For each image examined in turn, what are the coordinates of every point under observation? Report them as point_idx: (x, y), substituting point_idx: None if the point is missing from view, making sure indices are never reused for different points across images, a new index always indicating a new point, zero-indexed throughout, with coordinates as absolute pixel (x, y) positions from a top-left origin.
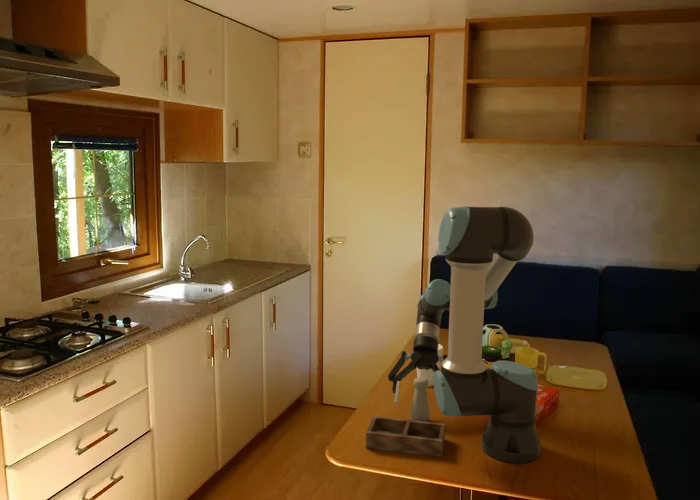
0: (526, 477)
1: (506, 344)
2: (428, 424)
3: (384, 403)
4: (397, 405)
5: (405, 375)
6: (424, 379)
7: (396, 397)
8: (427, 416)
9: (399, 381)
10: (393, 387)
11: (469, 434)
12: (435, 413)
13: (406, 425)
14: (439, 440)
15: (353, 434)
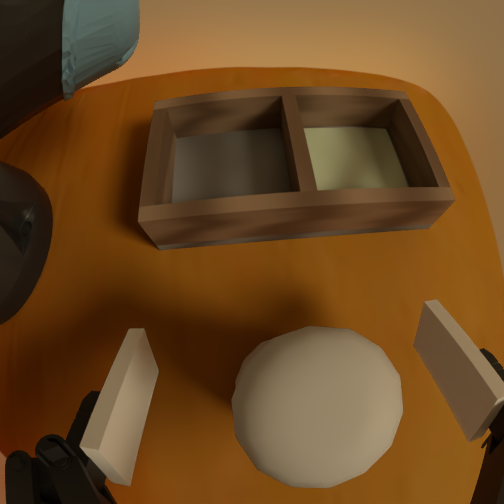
0: (12, 144)
1: None
2: (212, 201)
3: (457, 476)
4: (414, 343)
5: (476, 500)
6: (279, 410)
7: (442, 315)
8: (243, 361)
9: (496, 396)
10: (496, 367)
11: (76, 314)
12: (228, 482)
13: (304, 154)
14: (163, 102)
15: (460, 189)
